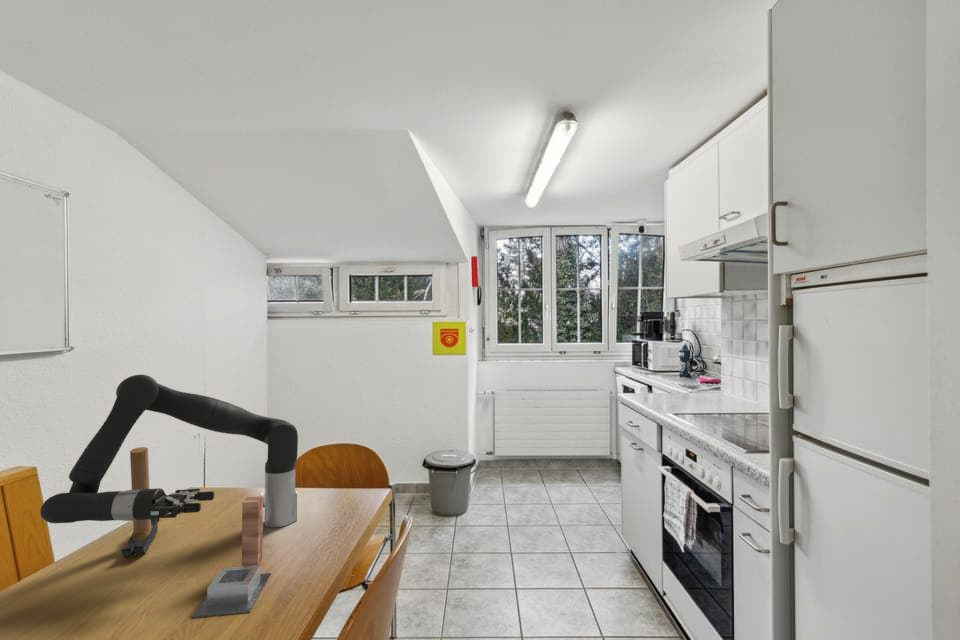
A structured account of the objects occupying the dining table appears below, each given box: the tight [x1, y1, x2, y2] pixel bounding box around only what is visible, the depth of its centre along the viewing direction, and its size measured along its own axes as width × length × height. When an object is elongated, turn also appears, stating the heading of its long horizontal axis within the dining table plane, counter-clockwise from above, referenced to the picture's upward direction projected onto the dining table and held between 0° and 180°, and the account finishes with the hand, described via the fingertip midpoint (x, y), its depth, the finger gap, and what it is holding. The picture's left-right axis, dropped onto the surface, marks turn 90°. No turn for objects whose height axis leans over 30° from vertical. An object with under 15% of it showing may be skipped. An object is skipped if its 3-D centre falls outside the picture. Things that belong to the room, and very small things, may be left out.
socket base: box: [191, 565, 272, 619], centre depth 110 cm, size 16×12×5 cm
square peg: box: [241, 495, 264, 567], centre depth 123 cm, size 4×4×18 cm
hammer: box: [120, 446, 160, 558], centre depth 133 cm, size 20×5×30 cm, turn 24°
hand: (207, 501), depth 121 cm, fingers open, 8 cm apart
